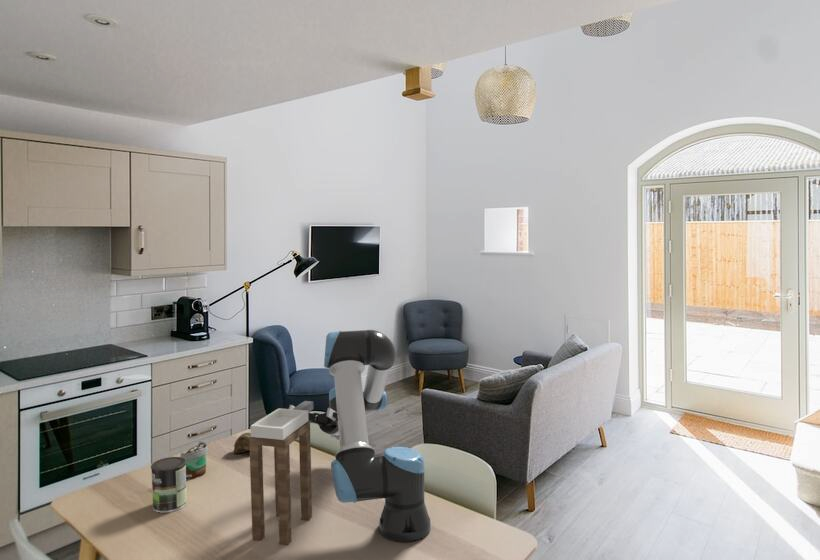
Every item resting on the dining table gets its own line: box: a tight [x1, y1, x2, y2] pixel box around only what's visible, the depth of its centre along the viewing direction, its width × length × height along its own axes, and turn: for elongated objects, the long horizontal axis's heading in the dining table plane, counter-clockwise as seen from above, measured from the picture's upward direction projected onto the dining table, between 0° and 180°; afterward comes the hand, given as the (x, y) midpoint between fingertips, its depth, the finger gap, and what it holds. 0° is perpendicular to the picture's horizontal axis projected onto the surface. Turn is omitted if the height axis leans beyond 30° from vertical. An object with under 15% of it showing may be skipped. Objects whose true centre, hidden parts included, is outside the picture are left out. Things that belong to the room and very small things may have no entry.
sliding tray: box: [250, 400, 314, 440], centre depth 161 cm, size 27×10×3 cm, turn 165°
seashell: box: [233, 431, 251, 454], centre depth 216 cm, size 11×9×8 cm
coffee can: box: [150, 456, 188, 514], centre depth 172 cm, size 10×10×14 cm
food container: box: [179, 441, 209, 480], centre depth 195 cm, size 12×6×10 cm, turn 168°
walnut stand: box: [249, 422, 313, 546], centre depth 157 cm, size 16×11×30 cm
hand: (308, 410), depth 175 cm, fingers open, 13 cm apart
